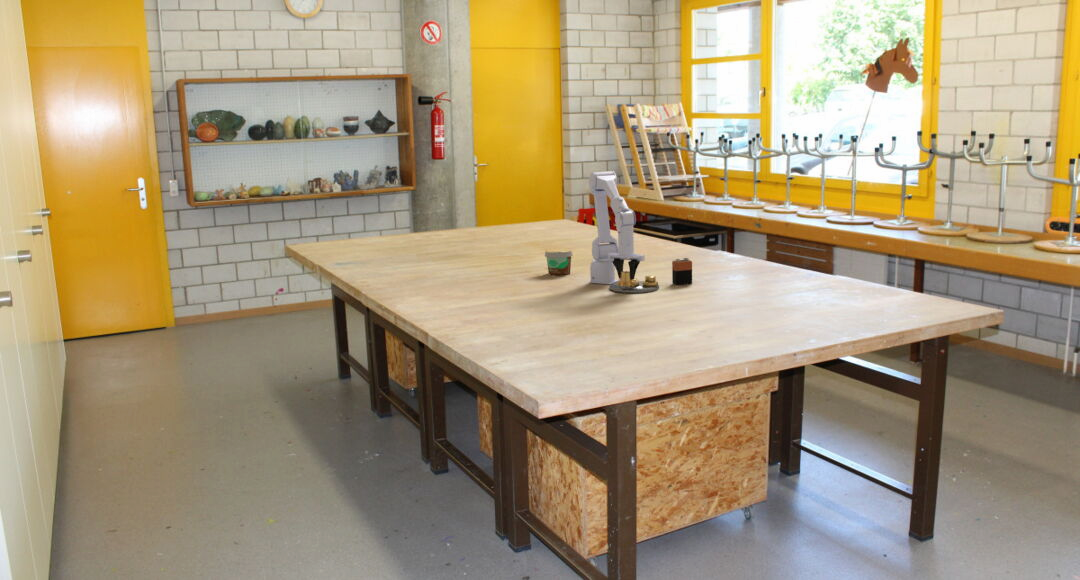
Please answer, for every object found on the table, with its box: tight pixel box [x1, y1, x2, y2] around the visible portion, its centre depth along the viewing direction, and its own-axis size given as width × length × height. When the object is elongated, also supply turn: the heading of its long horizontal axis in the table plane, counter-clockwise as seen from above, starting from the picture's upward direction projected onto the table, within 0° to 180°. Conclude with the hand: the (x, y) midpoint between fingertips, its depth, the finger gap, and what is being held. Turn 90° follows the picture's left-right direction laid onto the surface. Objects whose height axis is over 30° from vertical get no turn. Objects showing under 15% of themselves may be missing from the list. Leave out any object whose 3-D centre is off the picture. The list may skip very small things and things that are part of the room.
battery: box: [671, 257, 693, 286], centre depth 349 cm, size 4×7×10 cm, turn 105°
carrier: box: [609, 275, 660, 295], centre depth 344 cm, size 19×19×4 cm
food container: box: [544, 250, 573, 277], centre depth 377 cm, size 12×6×10 cm, turn 68°
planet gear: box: [616, 270, 635, 287], centre depth 338 cm, size 7×7×5 cm
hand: (626, 278), depth 338 cm, fingers closed on planet gear, 4 cm apart
